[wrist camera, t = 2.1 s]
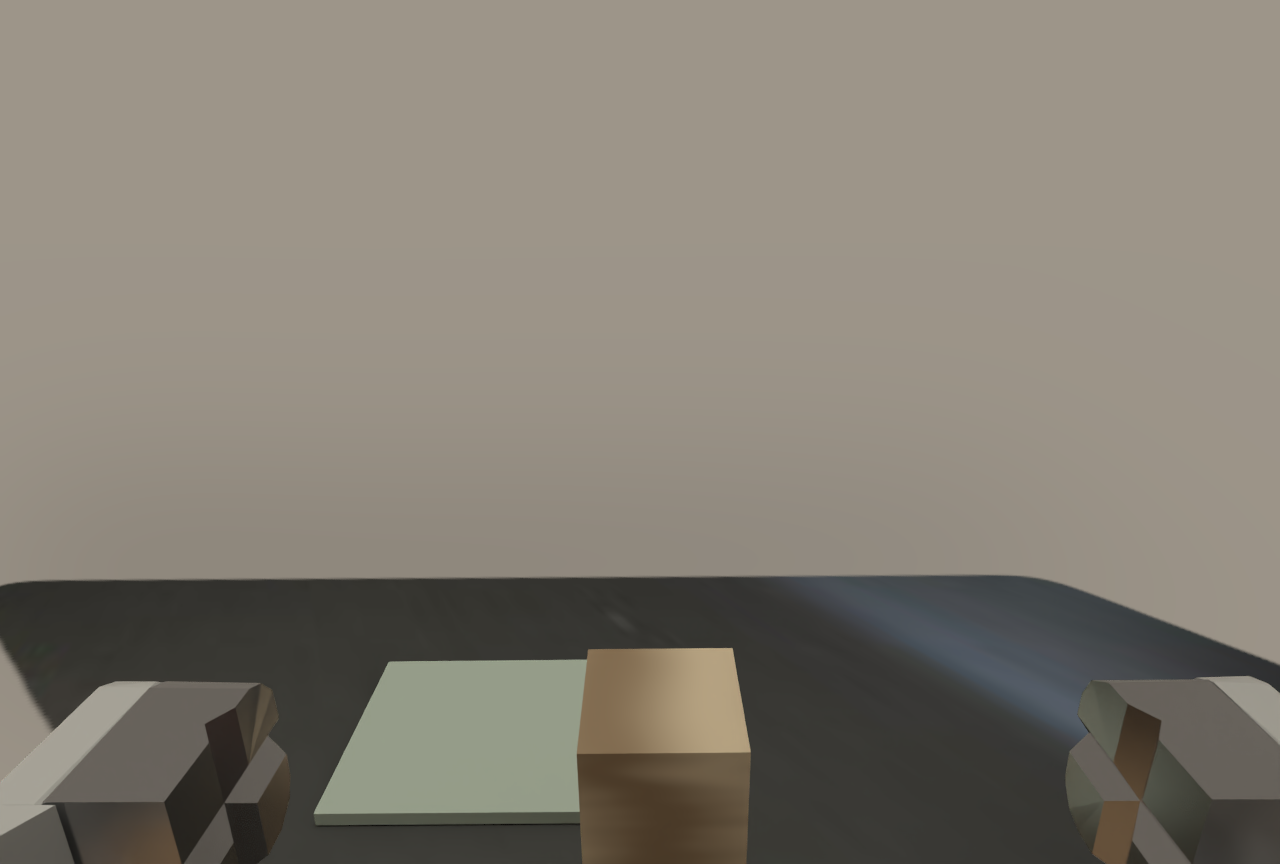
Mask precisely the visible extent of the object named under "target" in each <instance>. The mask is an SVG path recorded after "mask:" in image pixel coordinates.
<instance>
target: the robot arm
mask: <svg viewBox="0 0 1280 864" xmlns="http://www.w3.org/2000/svg"><path fill="white" fill-rule="evenodd" d="M1077 715H1078V717H1079V718H1080V720H1081V721H1082V723H1083V724H1084V726H1085V727H1086V729H1087V730H1088V732H1089V733H1088V734H1087V735H1086V736H1085V737H1084V738H1083V739H1082V740H1081V741H1080V742H1079V743H1078V744H1077V745H1076V746H1075V747H1074V748H1073V749H1072V750H1070V751H1069V758H1068V764H1067V770H1066V776H1065V783H1066V790H1067V797H1068V803H1069V809H1070V812H1071V814H1072V817H1073V819H1074V822H1075V824H1076V827H1077V830H1078V832H1079V833H1080V835H1081V837H1082V838H1083V840H1084V841H1085V843H1086V845H1087V846H1088V848H1089V850H1090V851H1091V853H1092V854H1093V855H1094V856H1096V857H1097V858H1099V859H1100V860H1102V861H1103V862H1105V863H1106V864H1280V693H1279V692H1278V691H1276V690H1275V689H1274V688H1273V687H1272V686H1270V685H1269V684H1268V683H1265V682H1263V681H1260V680H1258V679H1255V678H1253V677H1250V676H1234V677H1203V678H1195V679H1194V680H1091V682H1090V683H1089V685H1088V686H1087V687H1086V689H1085V690H1084V692H1083V693H1082V696H1081V701H1080V705H1079V709H1078V714H1077ZM278 719H279V715H278V711H277V707H276V703H275V699H274V695H273V691H272V690H271V689H269V688H268V687H266V686H265V685H263V684H262V683H224V682H169V681H166V682H163V683H161V682H113V683H110V684H107V685H104V686H101V687H99V688H98V689H97V690H96V691H95V692H94V693H92V694H91V695H90V696H89V697H88V698H87V699H86V700H85V701H84V702H83V703H82V704H81V705H80V706H79V707H78V708H77V709H76V710H75V711H74V712H73V713H72V714H71V715H70V716H69V717H67V718H66V719H65V720H64V721H63V722H62V723H61V724H60V725H59V726H58V727H57V728H56V729H55V730H54V731H53V732H52V733H51V734H50V735H49V736H48V737H47V738H46V739H45V740H44V741H43V742H41V744H39V746H37V747H36V748H35V749H34V750H33V751H32V752H31V753H30V754H29V755H28V756H27V757H26V758H25V759H24V760H23V761H22V762H21V763H20V764H19V765H18V766H17V767H15V768H14V770H13V771H12V772H10V773H9V774H8V775H7V776H6V777H5V778H4V779H3V780H2V781H1V782H0V864H257V863H259V862H260V861H261V860H263V859H264V858H265V857H267V856H268V855H269V853H270V851H271V849H272V847H273V845H274V843H275V841H276V839H277V837H278V835H279V833H280V832H281V830H282V826H283V822H284V818H285V814H286V810H287V806H288V803H289V799H290V771H289V766H288V760H287V755H286V753H285V752H284V751H283V750H282V749H281V748H280V747H279V746H278V745H277V744H276V743H275V742H273V741H272V740H271V739H270V738H269V737H268V734H269V733H270V731H271V729H272V728H273V726H274V725H275V723H276V722H277V720H278Z"/></svg>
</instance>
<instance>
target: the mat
mask: <svg viewBox="0 0 1280 864" xmlns="http://www.w3.org/2000/svg"><path fill="white" fill-rule="evenodd" d="M586 665H587V660H513V661H411V662H389V663H388V665H387V667H386V669H385V671H384V673H383V675H382V677H381V679H380V681H379V683H378V685H377V687H376V689H375V691H374V693H373V695H372V697H371V699H370V701H369V703H368V705H367V707H366V709H365V711H364V713H363V715H362V717H361V719H360V721H359V723H358V725H357V727H356V729H355V731H354V734H353V736H352V738H351V740H350V742H349V744H348V746H347V748H346V750H345V752H344V754H343V756H342V758H341V760H340V762H339V764H338V766H337V768H336V770H335V772H334V774H333V776H332V778H331V780H330V782H329V784H328V786H327V788H326V790H325V792H324V794H323V796H322V798H321V800H320V802H319V804H318V806H317V808H316V810H315V812H314V819H315V824H316V825H426V824H556V823H580V808H579V790H578V771H577V746H578V737H579V728H580V719H581V710H582V701H583V692H584V683H585V674H586Z"/></svg>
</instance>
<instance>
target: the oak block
mask: <svg viewBox="0 0 1280 864" xmlns="http://www.w3.org/2000/svg"><path fill="white" fill-rule="evenodd" d="M750 758H751V751H750V746H749V740H748V734H747V729H746V723H745V717H744V712H743V706H742V700H741V695H740V689H739V683H738V677H737V672H736V666H735V660H734V655H733V649H732V648H693V649H593V650H588V656H587V665H586V674H585V683H584V692H583V701H582V710H581V719H580V728H579V737H578V746H577V771H578V790H579V808H580V827H581V846H582V864H746V857H747V832H748V807H749V782H750Z"/></svg>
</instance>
